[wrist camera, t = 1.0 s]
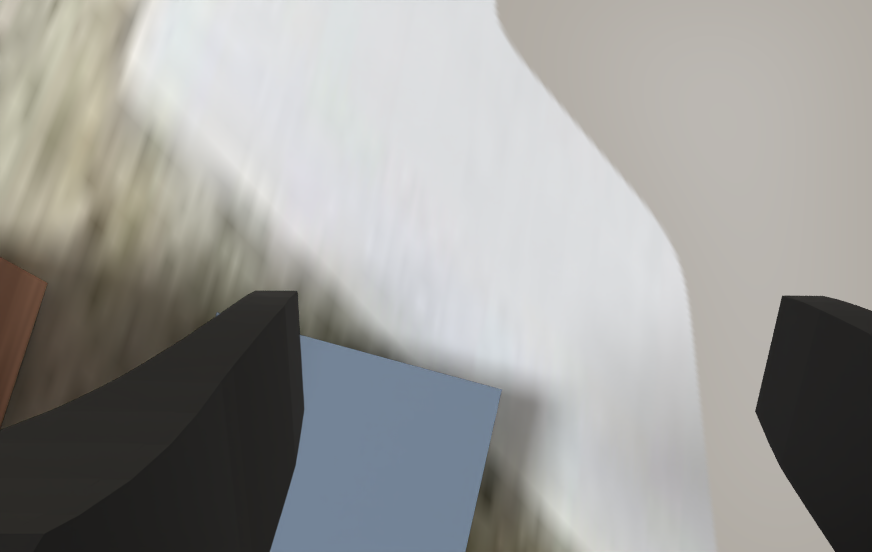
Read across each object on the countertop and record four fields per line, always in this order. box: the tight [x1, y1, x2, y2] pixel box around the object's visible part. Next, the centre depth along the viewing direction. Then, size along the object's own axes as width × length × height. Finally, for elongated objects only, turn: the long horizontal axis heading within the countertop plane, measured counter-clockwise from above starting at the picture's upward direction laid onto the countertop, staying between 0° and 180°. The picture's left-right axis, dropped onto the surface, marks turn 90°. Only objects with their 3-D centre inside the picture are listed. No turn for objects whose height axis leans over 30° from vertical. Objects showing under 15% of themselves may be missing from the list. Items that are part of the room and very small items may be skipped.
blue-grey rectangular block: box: [215, 312, 502, 552], centre depth 23 cm, size 9×10×4 cm
